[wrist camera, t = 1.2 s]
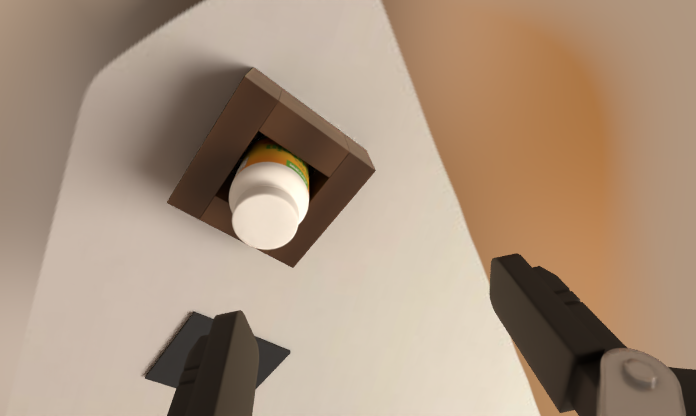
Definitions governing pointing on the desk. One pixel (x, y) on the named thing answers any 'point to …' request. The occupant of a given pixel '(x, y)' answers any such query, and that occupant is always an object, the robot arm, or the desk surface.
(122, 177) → the desk surface
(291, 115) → the holder
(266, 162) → the supplement bottle
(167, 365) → the mat
